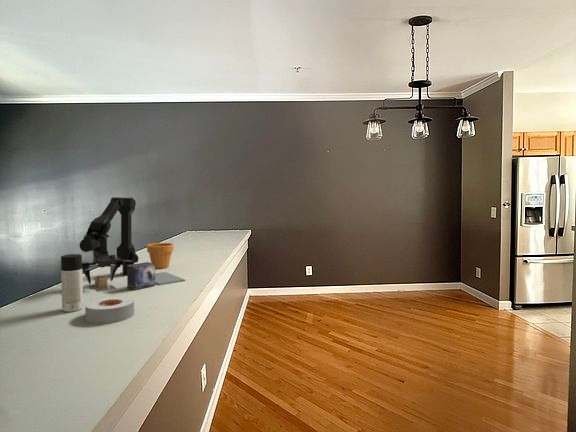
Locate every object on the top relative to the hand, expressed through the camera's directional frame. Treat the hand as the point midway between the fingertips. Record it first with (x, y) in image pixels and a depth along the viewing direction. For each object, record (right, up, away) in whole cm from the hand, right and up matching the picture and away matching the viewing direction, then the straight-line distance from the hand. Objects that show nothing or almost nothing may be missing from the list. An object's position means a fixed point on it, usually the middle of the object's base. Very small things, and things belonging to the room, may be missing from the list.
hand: (100, 282), depth 168 cm
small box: (+19, -2, -1) cm, 19 cm away
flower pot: (+13, +1, +42) cm, 44 cm away
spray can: (+7, -4, -33) cm, 34 cm away
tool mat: (+23, -1, +15) cm, 28 cm away
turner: (+2, -2, -2) cm, 3 cm away
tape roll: (+23, -5, -39) cm, 46 cm away
